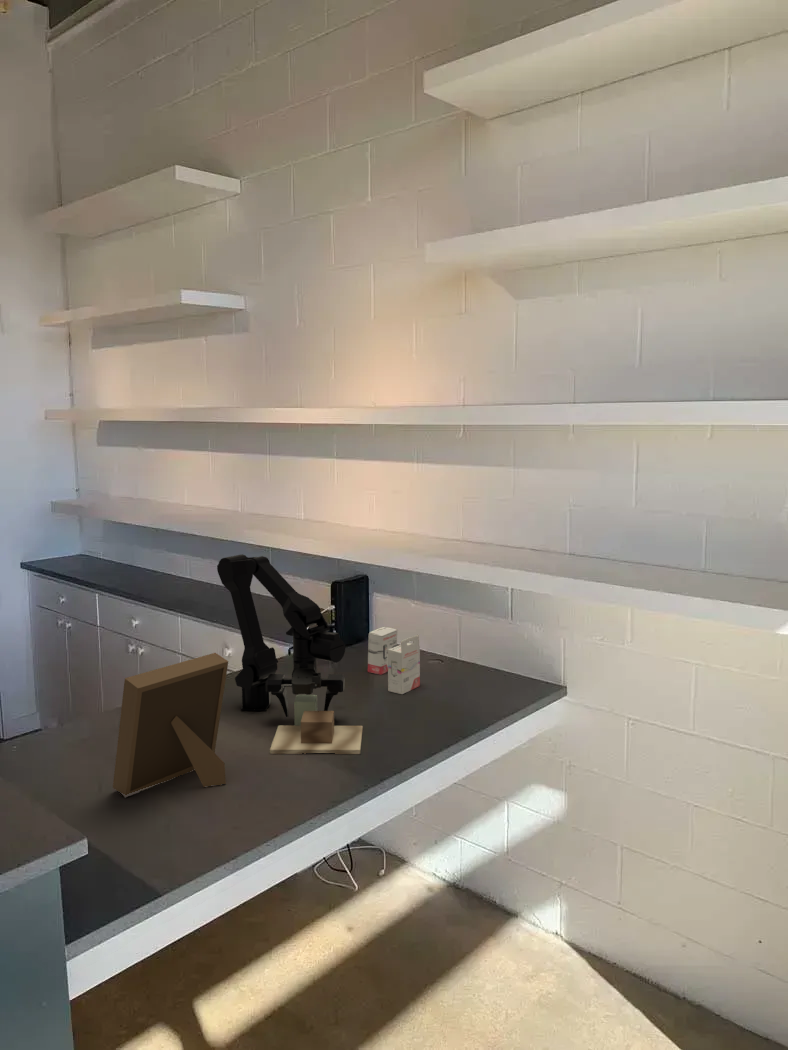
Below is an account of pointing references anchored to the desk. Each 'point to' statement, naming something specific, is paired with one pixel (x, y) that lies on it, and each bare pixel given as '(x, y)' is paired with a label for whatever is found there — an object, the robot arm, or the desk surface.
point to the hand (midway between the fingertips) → (306, 716)
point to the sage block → (303, 706)
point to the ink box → (380, 649)
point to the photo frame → (171, 724)
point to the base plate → (338, 747)
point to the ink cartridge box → (404, 666)
